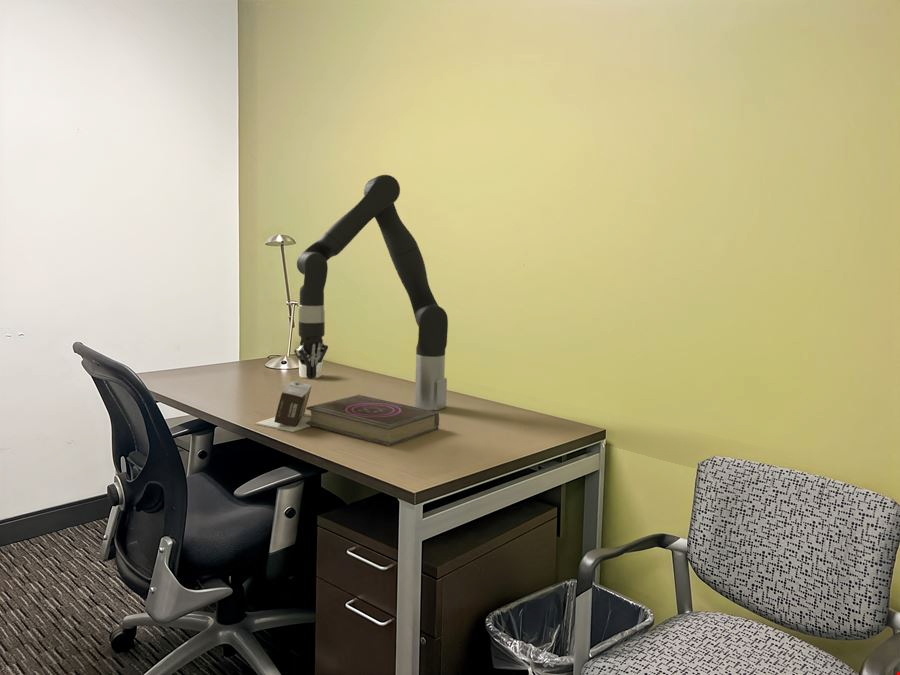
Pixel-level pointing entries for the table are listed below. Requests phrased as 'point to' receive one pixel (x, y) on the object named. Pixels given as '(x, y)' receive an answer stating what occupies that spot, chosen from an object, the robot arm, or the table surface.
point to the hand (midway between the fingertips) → (311, 378)
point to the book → (373, 419)
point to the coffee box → (293, 403)
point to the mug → (303, 370)
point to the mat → (273, 424)
